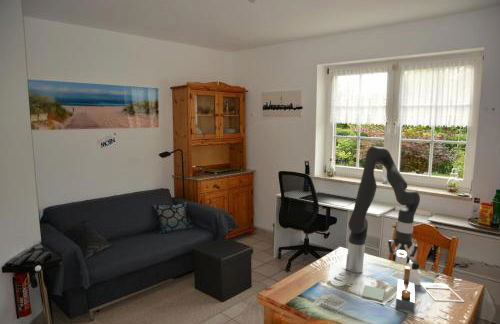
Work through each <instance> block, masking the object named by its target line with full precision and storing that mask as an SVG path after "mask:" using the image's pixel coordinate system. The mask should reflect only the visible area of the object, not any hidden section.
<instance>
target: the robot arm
mask: <svg viewBox="0 0 500 324" xmlns="http://www.w3.org/2000/svg"><path fill="white" fill-rule="evenodd" d="M376 164H379V165H382V166H383V167H384V168H385V170H386V179H387V181H388V183H389V185H390V186H391V188H392V189H393V192H394V196H395V199H396V202H397V203H398V204H400V205H401V206H405V207H403V208H401V209H399V211H398V217H397V222H396V227H395V237H394V239H392V240H391V239H389V240H388V241H387V244H388V250H389V253H392V260H393V262H395V260H396V253H397V251H398V250H403V251H404V252H406V253H407V263H409V260H411V258H414V257H415V255H416V252H417V251H418V247H419V246H418V244H414V243H413V241H412V240H413V232H414V220H415V219H414V218H415V214H416V212H417V209H418V208H419V205H420V202H421V201H420V200H421V197H420V196H421V195H420V194H419V192H417V191H416V190H407V188H408V183H407V181H406V180H405V178H403V175H401V173H400V171H399V170H398V168H397V166H396V164H395V161H394V159H393V157H392V155H391V153H390V151H389V150H388V149H387V148H386V147H382V146H375V145H374V146H369V148H368V149H367V152H366V155H365V160H364V166H363V171H362V176H361V179H360V183H359V186H358V189H357V195H356V199H355V202H354V207H353V210H352V214H351V215H350V218H349V220H348V229H349V230H350V233H349V234H350V235H349V237H348V245H347V247H348V248H347V254H346V262H345V263H346V264H345V270H346V271H348V272H350V273H354V274H361V273H362V272H363V271H364V259H365V258H364V257H365V246H366V239H367V236H368V235H367V234H368V228H369V227H368V225H369V223H368V219H367V218H366V217H367V216H366V215H367V212H368V210H369V208H370V206H371V204H372V203H373V200H374V198H375V196H376V192H377V189H378V188H377V181H376V177H375V174H374V173H375V168H376ZM393 244H394V245H395V247H394V249H393V247H392V246H393ZM411 247H412V252H411V253H410V248H411ZM407 263H406V265H407Z"/></svg>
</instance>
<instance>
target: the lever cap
mask: <svg viewBox="0 0 500 324" xmlns="http://www.w3.org/2000/svg"><path fill="white" fill-rule="evenodd" d="M394 263H395V264H397V265H401V266H407V264H406V263H407V253H406V251H405V250H400V249H399V250H398V251H397V253H396V260H395V261H394Z"/></svg>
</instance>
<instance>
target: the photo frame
mask: <svg viewBox="0 0 500 324" xmlns="http://www.w3.org/2000/svg"><path fill="white" fill-rule="evenodd" d="M419 286H421V288H422V289H423V290H424V291H425V292H426V293H427V294H428V295H429V296H430V297H431V299H433V301H435V302H451V303H452V302H453V303H465V301H464V300H463V298H461V296H459V294H457V293H456V292H455V291H454V290H453V289H452V288H451V287H450V286H449V285H447V284H446V283H440V282H437V283H435V282H421V284H420V285H419ZM427 289H436V290H450V292H452V293H453V294H454V296H456V297H457V299H459V300H457V299H439V298H438V299H436V298H435V297H434V296H433V295H432V294H431V292H430V291H429V290H427Z"/></svg>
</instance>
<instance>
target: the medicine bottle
mask: <svg viewBox="0 0 500 324" xmlns="http://www.w3.org/2000/svg"><path fill="white" fill-rule="evenodd" d="M406 266H407V267H410V276H409V281H410V282H414V283H415V286H421V285H420V284H421V283H422V275H423V274H422V272H421V271H420V263H419V262H418V261H416V260H411V259H409V263H407V264H406ZM404 273H405V266H404V267H403V274H402V280H404Z"/></svg>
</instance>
